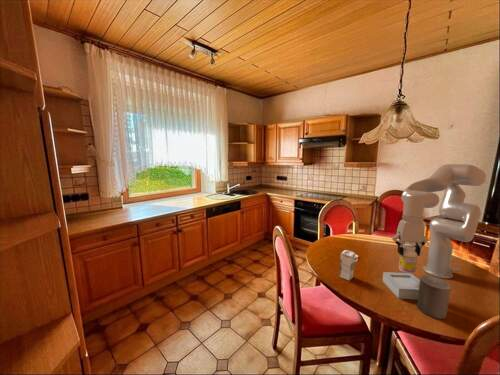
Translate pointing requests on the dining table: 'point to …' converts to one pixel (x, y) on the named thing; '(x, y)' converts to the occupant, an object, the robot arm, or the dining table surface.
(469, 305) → the dining table surface
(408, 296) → the gray square tray
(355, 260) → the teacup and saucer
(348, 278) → the syrup box
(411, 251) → the supplement bottle
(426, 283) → the pillar candle
